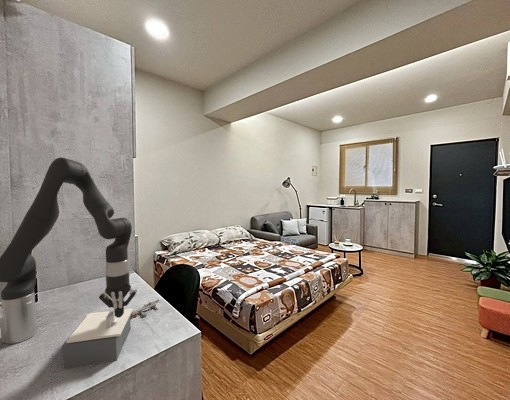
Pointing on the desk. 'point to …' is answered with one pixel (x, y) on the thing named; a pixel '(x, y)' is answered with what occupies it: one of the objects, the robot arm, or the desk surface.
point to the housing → (94, 349)
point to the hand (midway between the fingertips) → (119, 316)
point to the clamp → (134, 313)
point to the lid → (100, 326)
